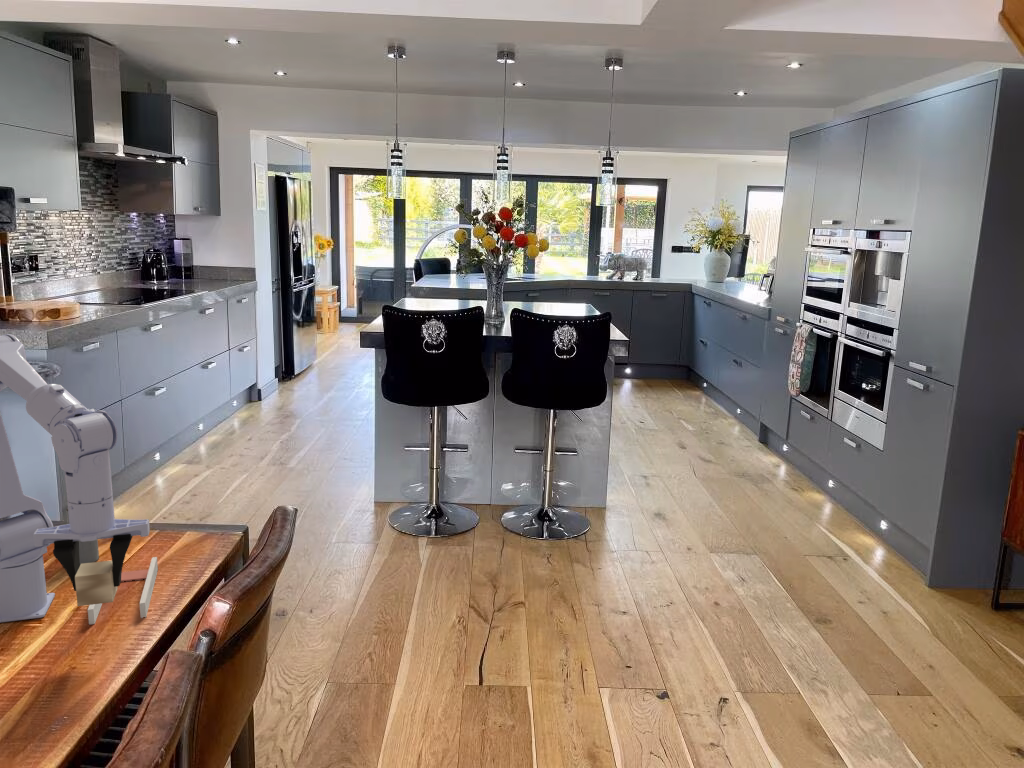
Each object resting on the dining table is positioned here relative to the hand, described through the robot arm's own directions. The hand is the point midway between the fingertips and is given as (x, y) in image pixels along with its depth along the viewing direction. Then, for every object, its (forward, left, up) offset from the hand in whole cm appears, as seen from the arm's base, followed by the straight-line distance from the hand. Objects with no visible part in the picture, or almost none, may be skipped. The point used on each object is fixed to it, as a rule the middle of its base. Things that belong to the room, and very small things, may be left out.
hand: (98, 585), depth 112 cm
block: (0, -1, -2) cm, 2 cm away
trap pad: (+1, +23, -9) cm, 25 cm away
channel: (+1, +16, -9) cm, 19 cm away
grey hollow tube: (-8, +33, -10) cm, 35 cm away
